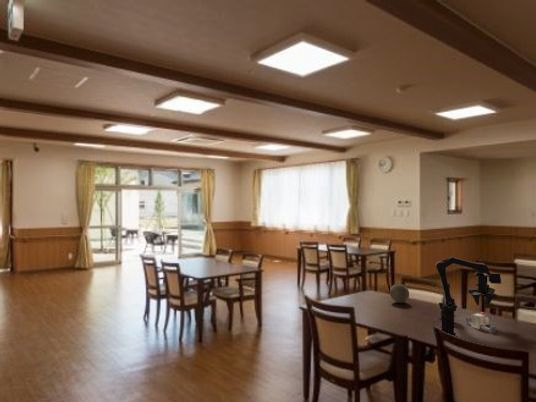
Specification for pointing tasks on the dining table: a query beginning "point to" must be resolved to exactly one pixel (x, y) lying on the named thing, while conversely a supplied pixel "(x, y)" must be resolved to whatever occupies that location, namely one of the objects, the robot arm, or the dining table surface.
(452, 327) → the black fluted column
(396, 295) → the cantaloupe
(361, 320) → the dining table surface
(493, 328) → the rail
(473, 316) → the carriage
